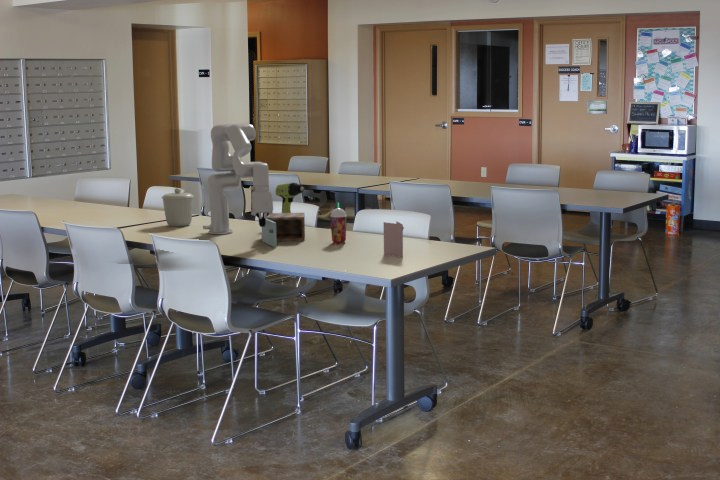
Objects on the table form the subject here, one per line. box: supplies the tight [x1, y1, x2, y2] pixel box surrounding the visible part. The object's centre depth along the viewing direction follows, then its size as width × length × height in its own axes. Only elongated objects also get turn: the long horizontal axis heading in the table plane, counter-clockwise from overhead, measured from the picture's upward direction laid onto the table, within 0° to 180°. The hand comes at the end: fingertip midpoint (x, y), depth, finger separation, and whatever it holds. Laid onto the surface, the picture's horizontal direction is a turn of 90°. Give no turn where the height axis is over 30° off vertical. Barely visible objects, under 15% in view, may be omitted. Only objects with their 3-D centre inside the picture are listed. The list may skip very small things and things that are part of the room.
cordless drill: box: [274, 182, 305, 213], centre depth 512 cm, size 23×7×25 cm, turn 40°
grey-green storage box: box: [261, 218, 278, 248], centre depth 463 cm, size 21×3×12 cm, turn 23°
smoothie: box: [329, 202, 348, 245], centre depth 464 cm, size 8×8×20 cm
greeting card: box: [383, 220, 405, 258], centre depth 429 cm, size 11×7×15 cm, turn 12°
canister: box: [161, 187, 195, 228], centre depth 529 cm, size 18×18×21 cm
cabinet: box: [267, 212, 306, 242], centre depth 481 cm, size 20×16×12 cm
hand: (262, 226), depth 459 cm, fingers closed
